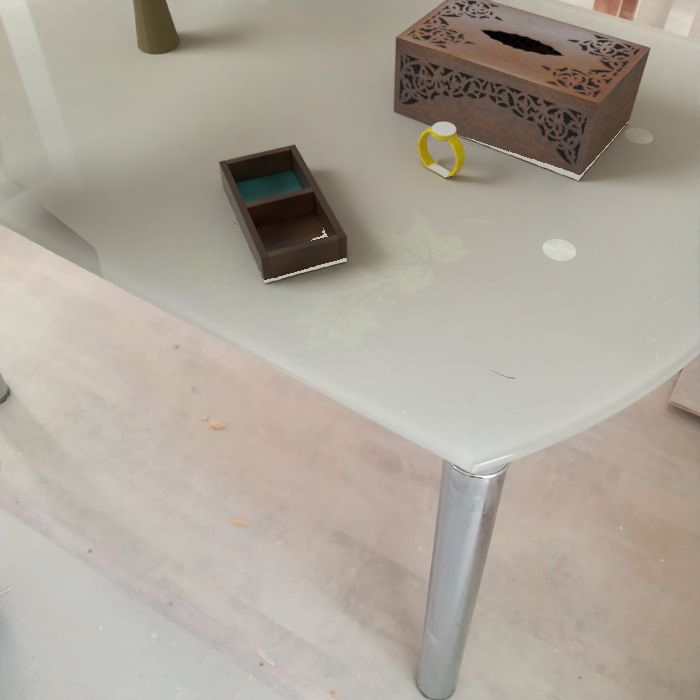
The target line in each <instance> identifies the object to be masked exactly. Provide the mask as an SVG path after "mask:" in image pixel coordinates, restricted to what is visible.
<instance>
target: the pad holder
mask: <svg viewBox="0 0 700 700" xmlns="http://www.w3.org/2000/svg"><path fill="white" fill-rule="evenodd" d="M218 165H219V171H220V176H221V182H222V183H221V184H222V187H223V189H224V192H225V194H226V196H227V199H228V202H229V204H230V207H231V209H232V211H233V213H234V216H235V218H236V220H237V223H238V225H239V227H240V230H241V233H242V234H244V235H243V237H244V239H245V242H246V241H247V242H246V244H247V243H248V244H247V246H248V245H249V246H248V249H249V248H250V249H249V251H250V250H251V251H250V253H251V252H252V253H251V255H252V254H253V256H252V258H253V257H254V258H253V260H254V259H255V260H254V262H255V261H256V263H257V265H258V267H259V270H260V272H261V274H262V277H263V279H264V280H267V279H271V278H277V277H279V276H283V275H286V274H290V273H294V272H297V271H301V270H304V269H308V268H310V267H315V266H317V265H321V264H325V263H329V262H333V261H337V260H340V259H343V258H347V259H348V237H347V235H346V232H345V230H344V229H343V227H342V226H341V224H340V222H339V220H338V219H337V217H336V215H335V213H334V212H333V209H332V208H331V206H330V204H329V202H328V201H327V198H326V197H325V195H324V193H323V192H322V190H321V188H320V186H319V184H318V183H317V181H316V179H315V177H314V176H313V173H312V171H311V170H310V168H309V167H308V165H307V163H306V161H305V160H304V158H303V155H302V153H301V152H300V150H299V148H298V147H297V145H296V144H295V143H294V144H289V145H286V146H282V147H278V148H272V149H269V150H265V151H260V152H256V153H251V154H246V155H242V156H238V157H233V158H229V159H226V160H225V159H223V160H220V161H218ZM323 228H324V229H323ZM323 230H325V233H326V234H327V236H328V237H324V238H320V239H316V240H312V239H313V238H316V237H320V236H322V235H323V234H324V233H322V231H323ZM311 240H312V241H311ZM256 263H255V264H256ZM257 265H256V266H257ZM258 267H257V268H258ZM259 270H258V271H259ZM260 272H259V273H260ZM261 274H260V275H261ZM262 277H261V278H262ZM263 279H262V280H263Z"/></svg>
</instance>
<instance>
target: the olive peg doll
mask: <svg viewBox="0 0 700 700" xmlns="http://www.w3.org/2000/svg"><path fill="white" fill-rule="evenodd" d="M132 3H133V13H134V21H135V31H136V32H135V33H136V42H137V48H138V49H139V51H141V52H143V53H145V54H149V55H159V54H160V55H161V54H165V53H168V52H171V51H173V50H175V49H176V48H177V47H178V46H179V45H180V38H179V34H178V32H177V29H176V25H175V23H174V20H173V18H172V14H171V11H170V8H169V5H168V2H167V0H132Z"/></svg>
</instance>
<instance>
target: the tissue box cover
mask: <svg viewBox="0 0 700 700" xmlns="http://www.w3.org/2000/svg"><path fill="white" fill-rule="evenodd" d="M394 50H395V52H394V53H395V54H394V87H393V90H394V91H393V112H394V113H397V114H399V115H402V116H404V117H407V118H410V119H412V120H415V121H418V122H420V123H423V124H426V125H428V126H430V127H431V126H433V125H434V124H435V123H437V122H449V123H452V124H453V125H454V126H455V127H456V134H457V135H460V136H463V137H467V138H470V139H474V140H476V141H479V142H482V143H485V144H488V145H491V146H494V147H497V148H500V149H503V150H506V151H508V152H509V151H510V152H512V153H516V154H519V155H521V156H524V157H527V158H530V159H535V160H537V161H540V162H543V163H547V164H550V165H553V166H555V167H558V168H562V169H564V170H567V171H570V172H573V173H575V174H577V175H581V174H582V173H583V172H584V171H585V170H586V168H587V167H588V166H589V165H590V164H591V163H592V162H593V161H594V160H595V159H596V157H597V156H598V155H599V154H600V153H601V152H602V151H603V150H604V149H605V147H606V146H607V145H608V144H609V143H610V142H611V141H612V139H614V137H615V136H616V135H617V134H618V133H619V131H620V130H621V129H622V128H623V127H624V126H625V125H626V123H627V122H628V121H629V122H630V119H631V117H632V113H633V110H634V106H635V103H636V99H637V96H638V93H639V89H640V85H641V83H642V79H643V76H644V71H645V68H646V65H647V63H648V58H649V56H650V51H651V47H650V46H646V45H644V44H639V43H636V42H634V41H633V42H632V41H629V40H626V39H622V38H619V37H616V36H613V35H609V34H605V33H602V32H598V31H595V30H593V29H589V28H585V27H581V26H578V25H576V24H571V23H568V22H564V21H562V20H558V19H554V18H551V17H548V16H544V15H541V14H538V13H534V12H530V11H527V10H524V9H521V8H517V7H513V6H510V5H506V4H503V3H500V2H496V1H493V0H444V1H443V2H441V3H440V4H438V5H437V6H436V7H435V8H433V9H432V10H431V11H429V12H428V13H426V14H425V15H423V16H422V17H421V18H420V19H419V20H417V21H415V22H413V24H411V25H410V26H409V27H407V28H406V29H405V30H404V31H402V32H401V33H399V34H398V35H397V36H395V49H394ZM460 136H459V137H460Z"/></svg>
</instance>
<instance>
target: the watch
mask: <svg viewBox="0 0 700 700" xmlns="http://www.w3.org/2000/svg"><path fill="white" fill-rule="evenodd" d="M429 134H431V136H432V137H433V138H434V139H436V140H437V141H440V142H441V141H442V142H448V144H449V146H450V147H451V149H452V150H453V154H454V157H455V162H454V163H455V164H454V168H453V169H452V170H453V171H452V170H451V171H452V172H450V173H449V174H448V176H452V177H454V176H455V175H456V174H458V173H459V172H460V171H461V170H462V169H463V167H464V166H465V160H466V153H465V149H464V145H463V143H462V141H461V140H460V138H459V136H457V135H456V127H455V126H454V125H453V124H452V123H449V122H437V123H435V124H434V125H433V126H431V125H430V127H428V128H427V129H425V130H424V131H423V132H422V133H420V135H419V137H418V141H417V149H418V156H419V158H420V160H421V162H422V164H423V166H424V167H425V166H428V167H430V165H433V164H435V163H437V162H436V161H435V160H434V158H433V157H432V155H431V154H430V152H429V148H428V138H429ZM434 166H435V165H434Z"/></svg>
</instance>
